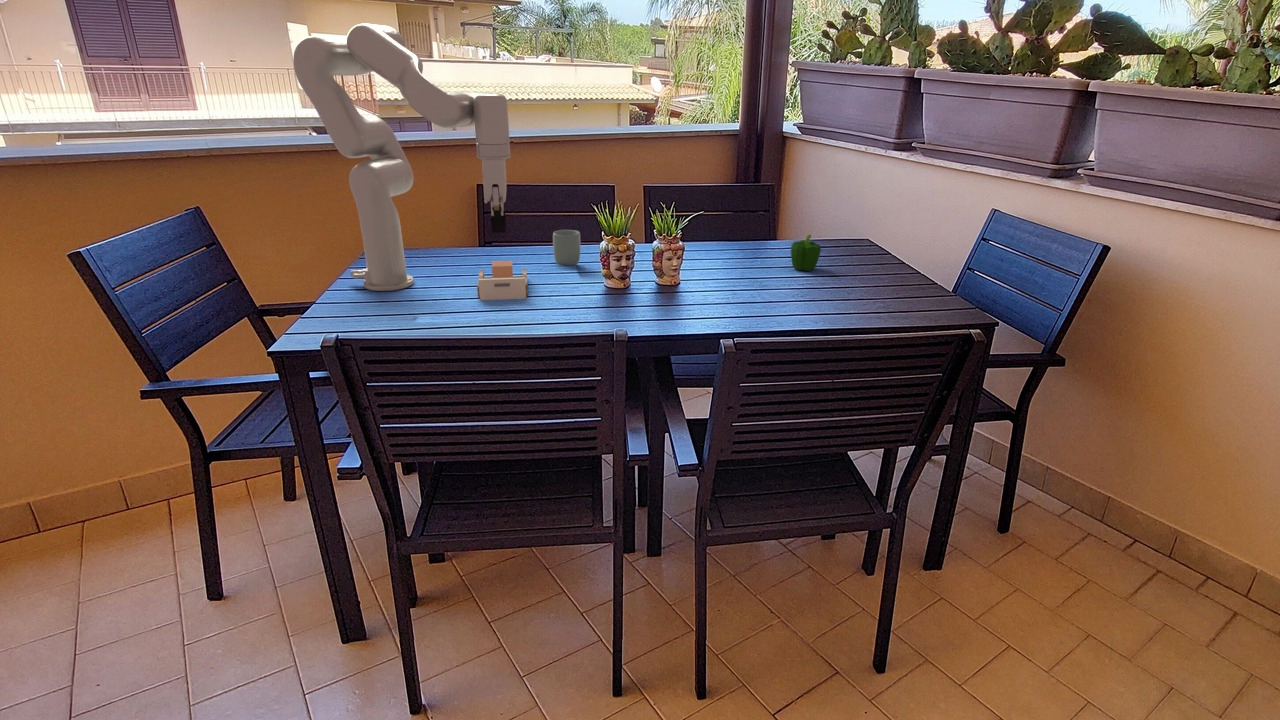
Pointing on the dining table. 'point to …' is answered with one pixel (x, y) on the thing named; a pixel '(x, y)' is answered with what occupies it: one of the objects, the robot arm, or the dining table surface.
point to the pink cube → (502, 269)
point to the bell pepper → (805, 254)
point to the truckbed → (481, 276)
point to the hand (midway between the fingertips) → (499, 228)
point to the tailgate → (502, 288)
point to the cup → (566, 247)
